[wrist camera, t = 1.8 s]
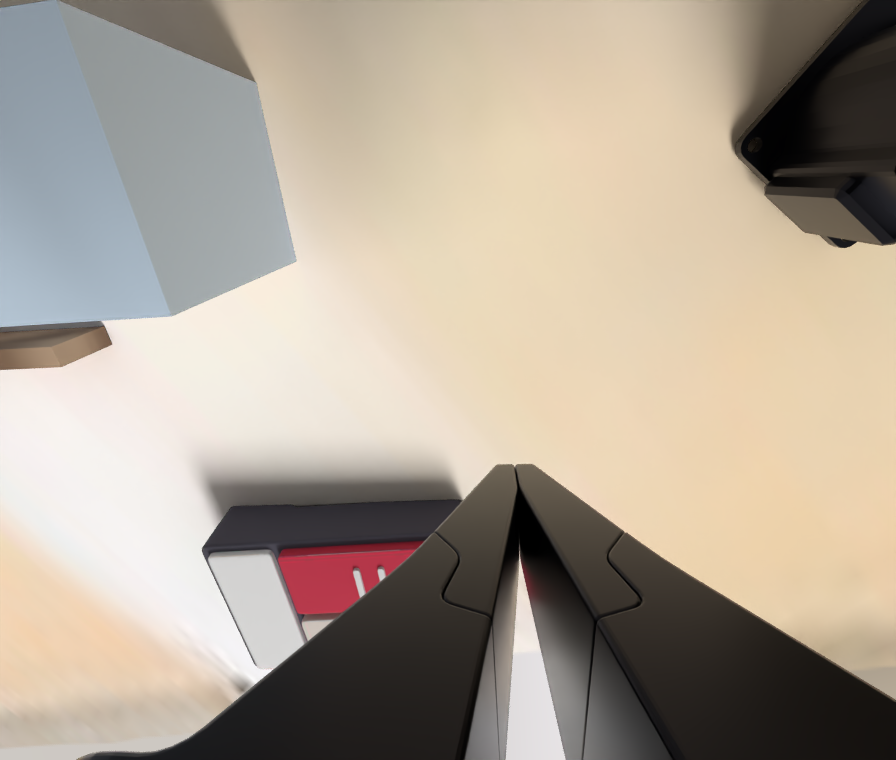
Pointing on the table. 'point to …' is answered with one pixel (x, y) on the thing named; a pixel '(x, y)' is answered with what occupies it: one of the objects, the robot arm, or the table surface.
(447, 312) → the table surface
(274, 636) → the calculator
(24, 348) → the frame
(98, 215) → the slate box
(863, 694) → the robot arm
